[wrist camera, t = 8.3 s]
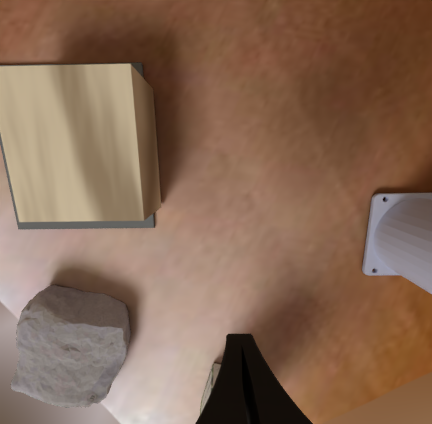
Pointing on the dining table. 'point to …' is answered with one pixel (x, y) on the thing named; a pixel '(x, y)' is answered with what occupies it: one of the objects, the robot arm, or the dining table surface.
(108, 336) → the stone block
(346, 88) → the dining table surface
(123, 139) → the birch block
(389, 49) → the dining table surface
